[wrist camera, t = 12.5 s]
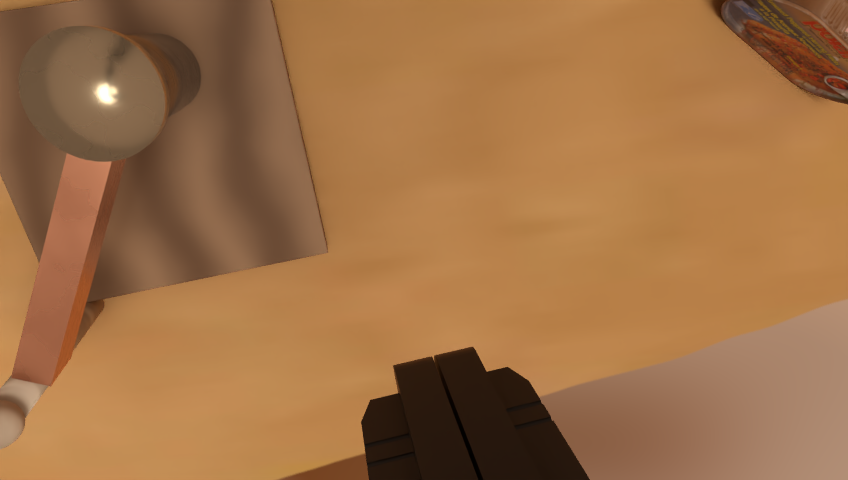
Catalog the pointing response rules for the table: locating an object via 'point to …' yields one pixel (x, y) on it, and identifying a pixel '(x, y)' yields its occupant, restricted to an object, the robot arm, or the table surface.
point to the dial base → (172, 160)
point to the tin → (797, 40)
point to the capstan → (90, 161)
